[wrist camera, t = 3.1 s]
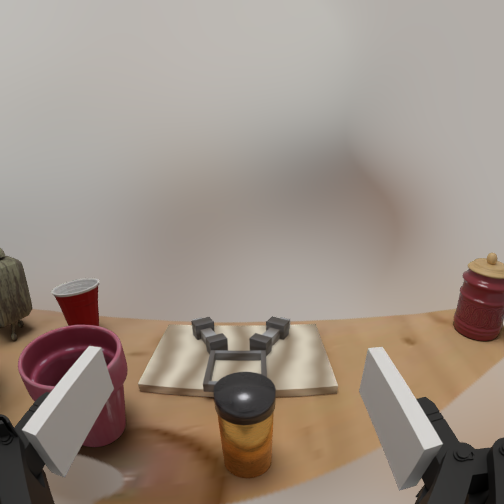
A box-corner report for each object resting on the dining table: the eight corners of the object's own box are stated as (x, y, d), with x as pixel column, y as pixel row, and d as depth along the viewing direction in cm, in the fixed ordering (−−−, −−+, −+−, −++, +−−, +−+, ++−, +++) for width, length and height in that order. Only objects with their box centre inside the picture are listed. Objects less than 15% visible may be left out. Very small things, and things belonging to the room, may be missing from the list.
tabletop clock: (-7, 328, 53) (-30, 231, 47) (18, 316, 61) (-1, 223, 55) (12, 345, 48) (-16, 233, 41) (41, 331, 56) (18, 224, 49)
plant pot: (137, 467, 27) (104, 391, 23) (41, 453, 25) (-2, 378, 21) (148, 395, 40) (131, 323, 37) (69, 391, 38) (44, 322, 35)
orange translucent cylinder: (221, 478, 26) (209, 409, 23) (225, 442, 32) (216, 371, 29) (273, 478, 26) (277, 410, 23) (271, 442, 32) (274, 371, 29)
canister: (496, 320, 54) (511, 250, 50) (502, 345, 44) (524, 265, 39) (452, 313, 61) (464, 243, 57) (451, 337, 51) (469, 256, 47)
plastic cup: (92, 320, 63) (82, 272, 60) (119, 333, 58) (109, 280, 55) (56, 337, 54) (43, 286, 51) (80, 355, 49) (64, 298, 46)
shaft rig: (138, 393, 41) (132, 370, 39) (169, 330, 60) (167, 311, 59) (337, 395, 40) (341, 372, 39) (315, 330, 60) (316, 310, 59)
